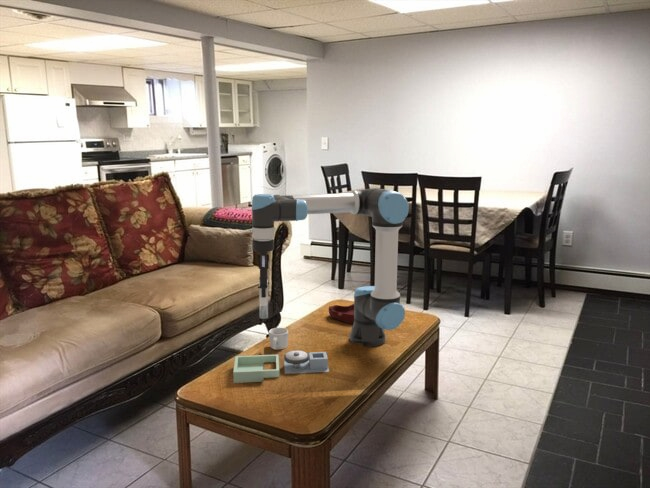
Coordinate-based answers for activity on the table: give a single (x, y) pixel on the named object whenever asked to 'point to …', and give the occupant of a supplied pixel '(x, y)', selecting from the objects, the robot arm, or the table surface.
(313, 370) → the block
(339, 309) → the ashtray
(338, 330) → the table surface
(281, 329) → the cup
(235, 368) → the tray
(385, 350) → the table surface
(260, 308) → the dark capped cylinder
